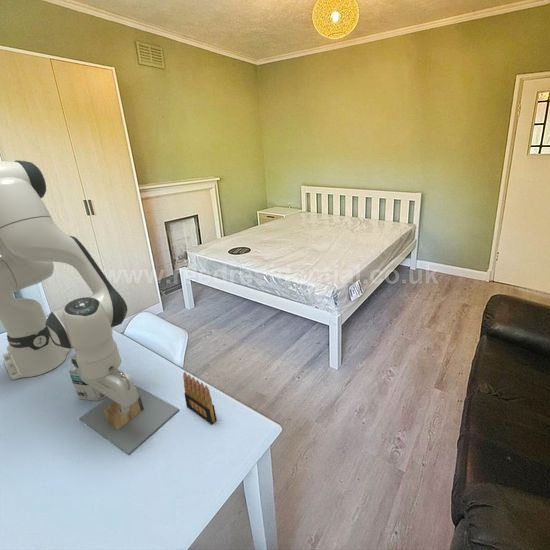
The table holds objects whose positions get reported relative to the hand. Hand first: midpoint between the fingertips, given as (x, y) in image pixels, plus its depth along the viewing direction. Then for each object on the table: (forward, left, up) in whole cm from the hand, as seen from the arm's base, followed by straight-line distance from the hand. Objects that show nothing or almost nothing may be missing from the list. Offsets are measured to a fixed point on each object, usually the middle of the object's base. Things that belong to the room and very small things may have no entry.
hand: (114, 404), depth 85 cm
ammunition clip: (+17, +13, -6) cm, 23 cm away
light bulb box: (-18, +5, -7) cm, 20 cm away
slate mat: (0, +3, -6) cm, 7 cm away
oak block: (0, -2, -4) cm, 4 cm away
